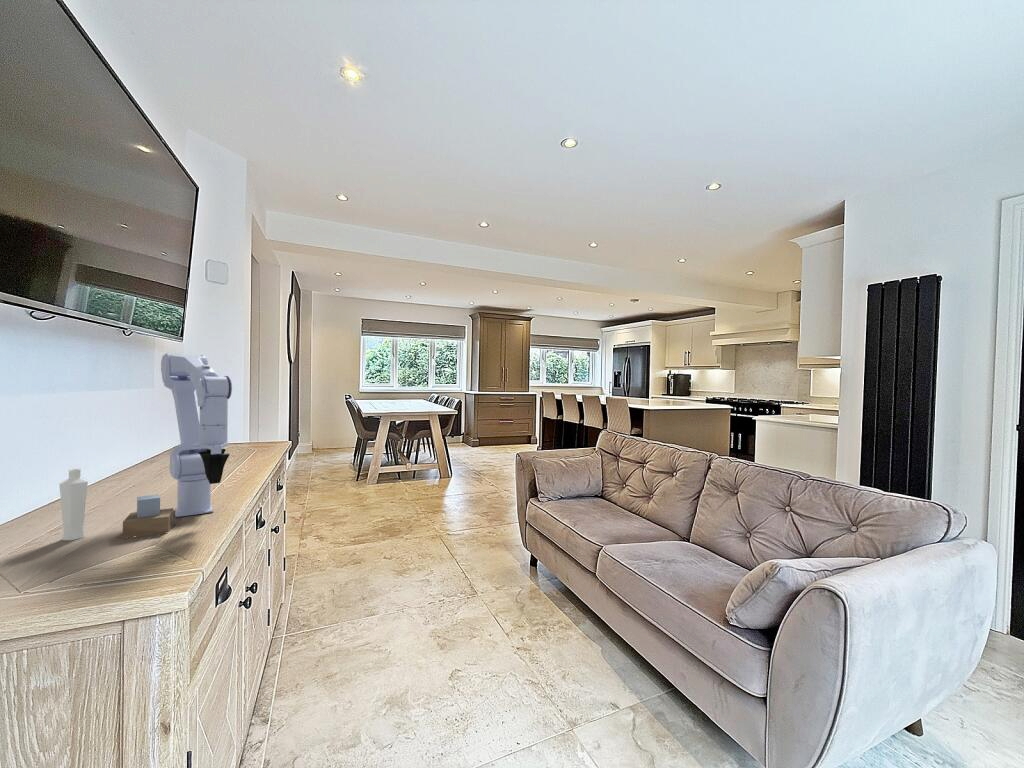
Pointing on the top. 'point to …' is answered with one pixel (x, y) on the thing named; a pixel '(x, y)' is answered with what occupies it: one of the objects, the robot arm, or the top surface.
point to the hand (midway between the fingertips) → (213, 480)
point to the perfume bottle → (73, 505)
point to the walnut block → (148, 524)
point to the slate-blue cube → (148, 506)
